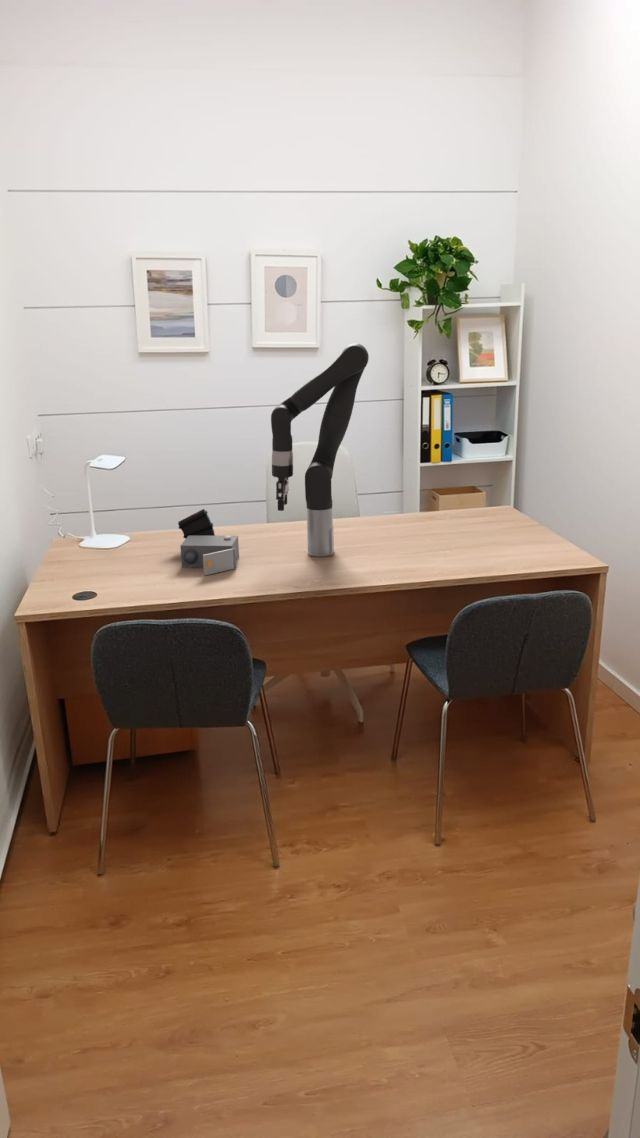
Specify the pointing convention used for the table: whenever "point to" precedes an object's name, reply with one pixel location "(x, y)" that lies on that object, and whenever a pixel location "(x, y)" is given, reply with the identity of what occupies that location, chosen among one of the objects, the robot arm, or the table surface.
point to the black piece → (197, 525)
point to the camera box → (205, 548)
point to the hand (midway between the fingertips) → (282, 507)
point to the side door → (219, 561)
